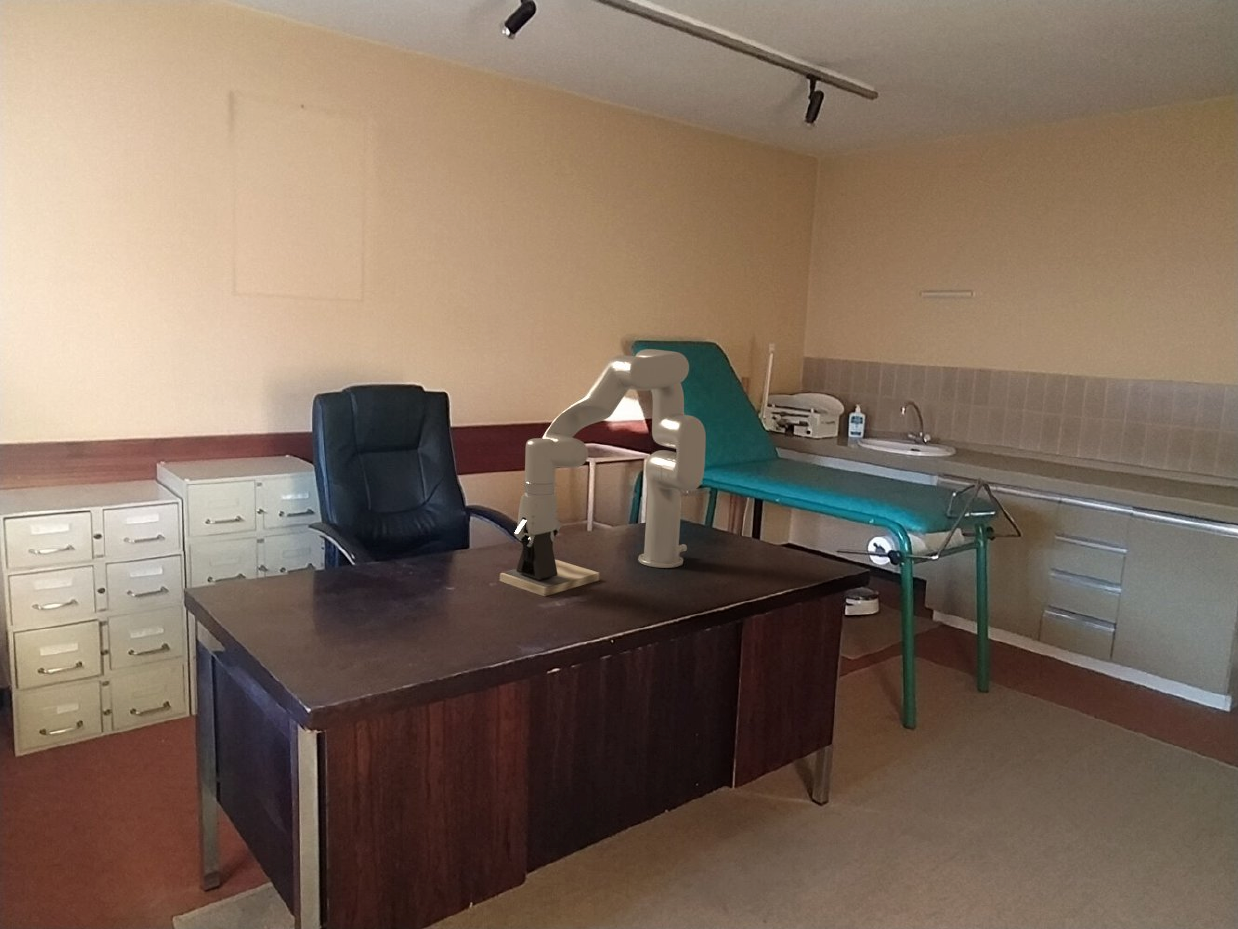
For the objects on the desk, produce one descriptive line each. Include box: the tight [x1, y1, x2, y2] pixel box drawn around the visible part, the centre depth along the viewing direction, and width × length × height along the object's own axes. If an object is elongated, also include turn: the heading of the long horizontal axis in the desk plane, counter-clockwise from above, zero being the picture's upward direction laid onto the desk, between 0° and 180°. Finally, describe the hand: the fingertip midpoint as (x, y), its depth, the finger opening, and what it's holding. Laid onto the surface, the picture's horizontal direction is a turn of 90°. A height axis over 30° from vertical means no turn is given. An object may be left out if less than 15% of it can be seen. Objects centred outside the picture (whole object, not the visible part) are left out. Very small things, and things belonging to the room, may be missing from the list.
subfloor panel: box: [499, 559, 600, 597], centre depth 229 cm, size 20×16×2 cm
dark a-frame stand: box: [516, 530, 558, 580], centre depth 224 cm, size 9×6×12 cm, turn 46°
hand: (537, 558), depth 225 cm, fingers closed on dark a-frame stand, 6 cm apart
